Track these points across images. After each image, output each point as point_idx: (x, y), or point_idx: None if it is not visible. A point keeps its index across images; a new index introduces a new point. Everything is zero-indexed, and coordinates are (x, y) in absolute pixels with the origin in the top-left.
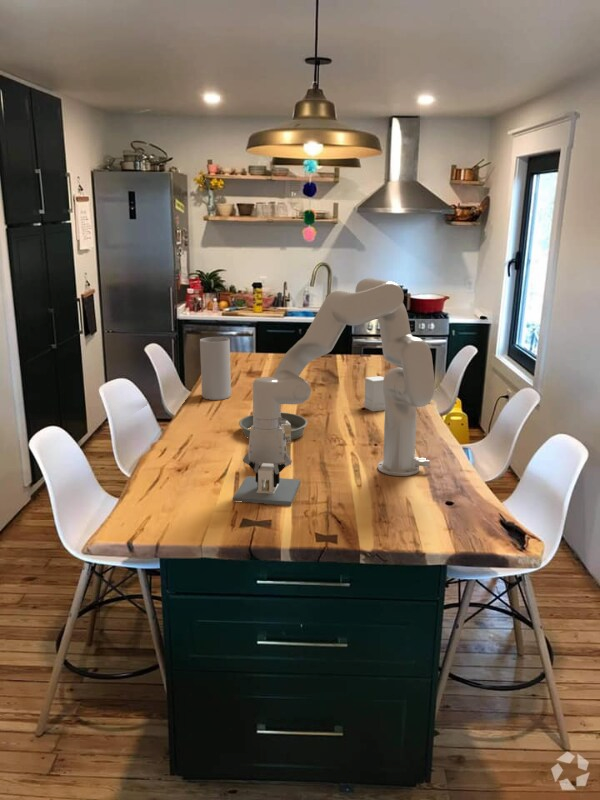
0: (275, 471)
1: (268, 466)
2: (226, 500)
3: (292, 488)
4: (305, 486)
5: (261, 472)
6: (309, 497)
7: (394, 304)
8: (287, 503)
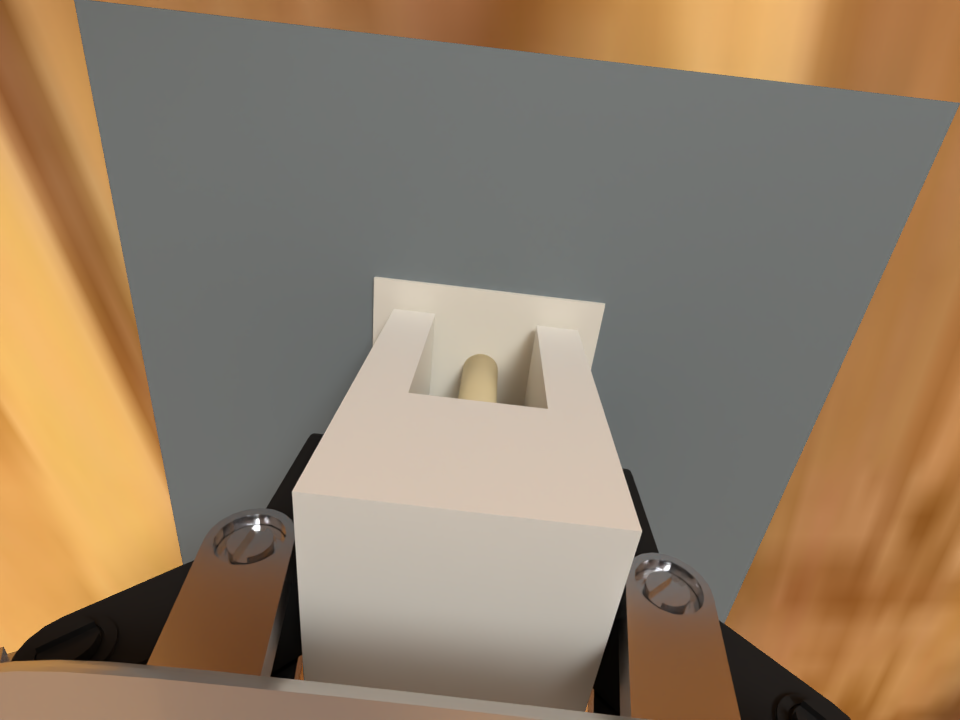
0: (601, 697)
1: (463, 651)
2: (148, 556)
3: (765, 426)
4: (952, 214)
5: None
6: (896, 500)
7: None
8: None
